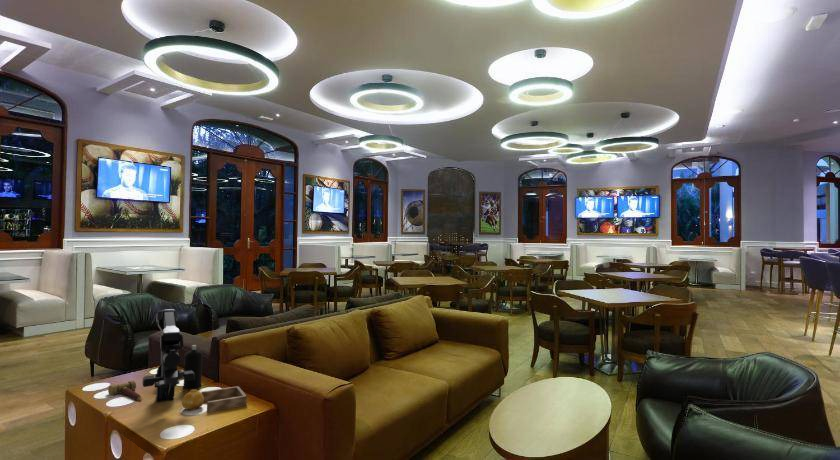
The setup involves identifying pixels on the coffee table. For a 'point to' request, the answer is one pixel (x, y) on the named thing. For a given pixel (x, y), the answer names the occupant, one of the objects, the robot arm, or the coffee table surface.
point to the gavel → (125, 390)
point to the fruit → (193, 400)
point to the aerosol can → (193, 367)
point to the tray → (224, 403)
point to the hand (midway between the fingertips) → (168, 399)
